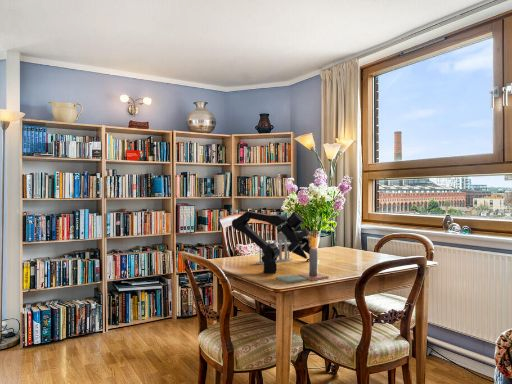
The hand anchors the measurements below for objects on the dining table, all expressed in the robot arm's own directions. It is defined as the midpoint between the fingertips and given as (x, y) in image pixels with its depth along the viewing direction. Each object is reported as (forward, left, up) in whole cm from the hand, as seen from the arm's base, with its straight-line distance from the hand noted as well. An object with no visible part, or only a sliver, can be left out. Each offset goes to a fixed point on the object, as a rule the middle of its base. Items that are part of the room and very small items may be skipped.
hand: (309, 256), depth 205 cm
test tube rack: (-16, +42, -11) cm, 46 cm away
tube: (+2, -1, -9) cm, 10 cm away
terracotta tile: (+2, -1, -10) cm, 11 cm away
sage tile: (-10, -6, -10) cm, 16 cm away
